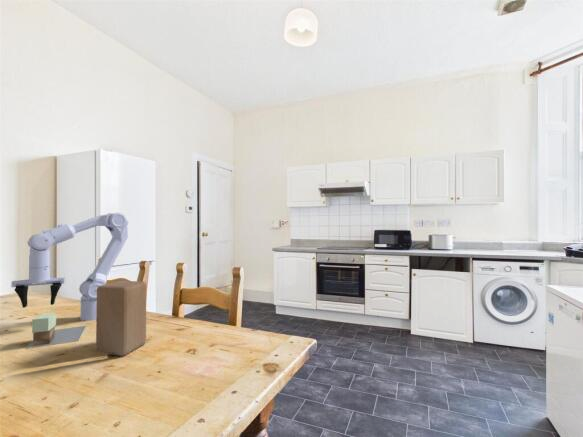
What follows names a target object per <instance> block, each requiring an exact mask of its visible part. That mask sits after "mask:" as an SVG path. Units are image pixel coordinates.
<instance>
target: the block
mask: <svg viewBox="0 0 583 437" xmlns="http://www.w3.org/2000/svg"><path fill="white" fill-rule="evenodd" d="M95 321H96V327H95V328H96V331H95V332H96V333H95V334H96V336H95V351H97V352H105V353H107V352H108V356H109V355H110V356H119V357H123V356H126V355H128V354H130V353H132V352H134V350H137V349H138V348H140V347H142V346H144V345H145V344H146V342H147V282H145V281H131V280H119V281H115V282H112V283H111V282H110V283H106V284H105V285H102V286H99V287H98V288H97V317H96V320H95Z"/></svg>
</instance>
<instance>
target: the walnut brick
mask: <svg viewBox="0 0 583 437" xmlns="http://www.w3.org/2000/svg"><path fill="white" fill-rule="evenodd" d="M55 326H56V325H55ZM55 326H54V327H53V328H52V329H50V330H49V331H44V332H34V333H32V338H33V339H32V341H33V346H37V345H44V344H50V343H51V341H52V340H53V338H54V337H55V330H56V329H55V328H56V327H55Z"/></svg>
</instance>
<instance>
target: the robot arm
mask: <svg viewBox="0 0 583 437" xmlns="http://www.w3.org/2000/svg"><path fill="white" fill-rule="evenodd" d="M128 224H129V220H128V219H127V217H126V216H125V214H123V213H121V212H115V213H114V212H113V213H111V212H109V213H107V214H102V215H97V216H95V217H91V218H88V219H87V220H86V219H85V220H83V221H81V222H78V223H76V224H73V225H70V224H67V223H65V224H63V223H61V224H58V225H57V226H56V227H53V228H51V229H44V230H42V233H41V232H40V233H35V234H33V235H31V236H30V237H29V238H28V241H27V245H28V246H29V255H28V257H29V258H28V279H22V280H21V279H20V280H12V281H11V285H10V286H11V288H14V292H15V293H16V295H17V296H18V298H19V300H20V302H21V305H22V308H26V307H27V306H28V293H29V292H28V291H29V287H30V286H44V285H45V286H46V285H50V305H51V306H53V305H55V303H56V302H55V301H56V298H57V295H58V293H59V291H60V288H61V287H62V285H63V284H65V283H66V277H51V253H50V248H51V247H52V245H53V246H56V245H58V244H61V243H63V242H65V241H68V240H71V239H74V237H75V236H76V234H78V233H81V232H83V231H86V230H89V229H93V228H95V227H105V228H106V229H107V230H108V231H109V233H110V236H111V239H110V241H109V243H108V244H107V247H106V248H105V250H104V252H103V253H102V255H101V257H100V259H99V261H98V262H97V263H96V266H95V268H94V270H93V272H91V273H90V274H89V275H88V276H87V278H86V279H85V280H84V281H82V283H81V284H80V285H79V288H78V290H79V293H80V294H81V296H80V313H79V314H80V315H79V316H80V319H79V320H80V321H82V322H90V321H96V317H97V288H98V287H99V286H102V285H106V284H107V281H108V280H107V277H108V275H109V273H110V271H111V269H112V267H113V266H114V264H115V262H116V261H117V258H118V256H119V254H120V252H121V250H122V249H123V247H124V245H125V244H126V242H127V240H128V238H129V236H128V235H129V234H128V231H129V230H128Z"/></svg>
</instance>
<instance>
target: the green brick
mask: <svg viewBox="0 0 583 437" xmlns="http://www.w3.org/2000/svg"><path fill="white" fill-rule="evenodd" d="M31 322H32V323H31V324H32V327H31V328H32V329H31V330H32V334H33V333H34V332H44V331H49V330H50V329H52V328H53V327H54V326H56V325H57V313H56V312H50V313H49V312H48V313H41V314H39V315H37V316H36V317H34V318H33V319H32V321H31Z"/></svg>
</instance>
